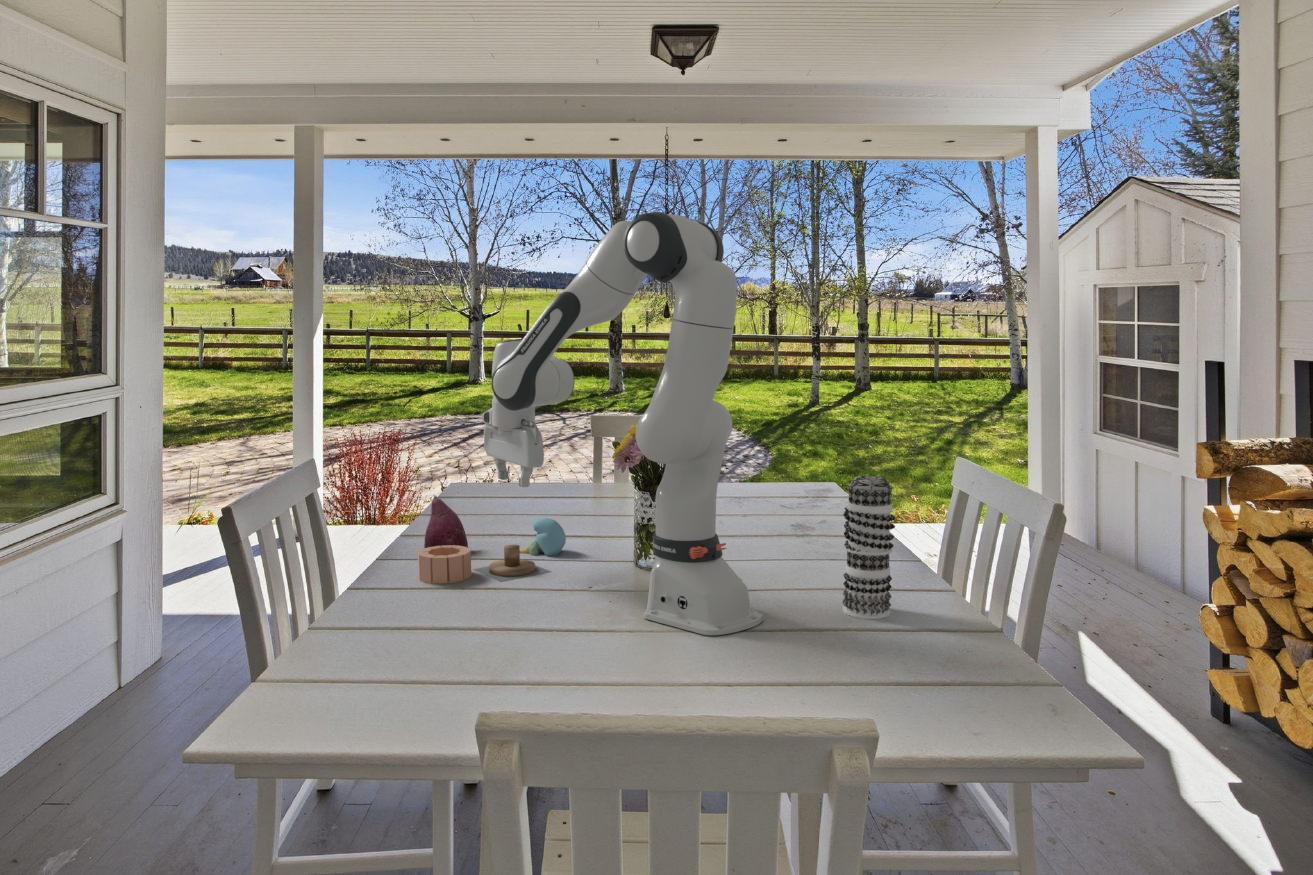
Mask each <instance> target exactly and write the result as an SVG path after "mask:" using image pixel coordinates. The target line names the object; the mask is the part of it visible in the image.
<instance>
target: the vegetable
mask: <svg viewBox="0 0 1313 875" xmlns="http://www.w3.org/2000/svg"><path fill="white" fill-rule="evenodd" d="M430 509H431V513H430V517H429V521H428V523H427V526H426V529H425V535H424V546H423V547H424V548H428V547H434V546H442V545H456V546H457V545H458V546H464V547H467V548H469V542H468V538H467V533H466V531H465V528H464V525H463V523H462V521H461V519H460V517H459V516H458V514H457V513H456V512H455V511H454V510H453V509H452V508H451V507H449V505H447V504H446V503H445V502H444V501H443V500H442V499H441V498H440V497H438V496H437V495H434V496H433V498H432V501H431V508H430ZM424 548H423V549H424Z"/></svg>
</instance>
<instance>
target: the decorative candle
mask: <svg viewBox="0 0 1313 875" xmlns="http://www.w3.org/2000/svg"><path fill="white" fill-rule="evenodd" d="M847 487H848V501H847V506H846V507H844V510H845V511H844V513H843V517H844V519H845V520H846V521H845V522H844V524H843V527H844V528H845V530H844V532H843V536H844V538H845V539H846V540H845V542H844V544H843V545H844V550H845V551H847V552H846V563H845V573H844V574H843V578H844V580H845V581H844V582H843V586H844V588H845V589H844V590H843V591H842V595H843V597H844V598H843V599H842V604H843V605H844V606H843V607H842V611H843V613H844V614H845V615H848V616H849V615H850V617H853V618H856V619H862V620H863V619H864V620H879V619H881V618H882V619H885V618H887V617H889V616H890V614H891V611H890V607H892V603H891V602H890V600H891V599H892V595H891V593H890V592H889V591H890V590H891V589H892V585H891V581H892V580H893V577H892V576H891V566H890V554H892V552H893V548H894V544H893V543H892V542H891V541H892V540H893V539H894V537H895V536H894V535H893V534H891V531H892V530H893V529H895V528H896V525H895V524H893V523H892V522H893V521H894V520H896V516H894V515H893V513H892V512H893V502H892V490H893V489H894V486H893V485H891V484H890V482H889V480H887V478H886V477H882V476H877V475H860V476H856V477H854V479H853V480H852V481H851V483H849V484H847ZM884 617H885V618H884Z"/></svg>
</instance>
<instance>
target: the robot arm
mask: <svg viewBox="0 0 1313 875" xmlns="http://www.w3.org/2000/svg"><path fill="white" fill-rule="evenodd" d="M724 250H725V249H724V244H723V241H722V239H721V236H720V235H719V234H718V232H716V230H715V229H714V228H712V227H711V226H709V225H707V224H705V223H703V222H699V221H695V220H693V219H691V218H688V217H685V216H683V215H679V214H670V213H665V212H660V211H651V212H646V213H642V214H640V215H638V216H637V217H635V218H633V219H632V220H631V221H630V220H621V221H618V222H617V223H615V224H614V225H613V226H611V227H610V229H609V230H608V231H607V232H606V233H605V234H604V236H603V237H602V238H601V239H600V240H599V242H598V243H597V244H596V246H595V247H594V249H593V250H592V251H591V253H590V254H589V256H588V257H587V259H586V261H585V263H584V264H583V266H582V267H581V268H580V270H579V271H578V273H577V274H576V275H575V277H574V278H573V279H572V281H571V282H570V283H569V284H568V285H567V286H566V287H565V288H564V289H563V291H562V292H561V293H559V294H558V295H557V296H556V297H555V298H554V299H553V300H552V301H551V302H550V303H549V304H548V305H547V307H546V308H545V309H544V310H543V312H542V313H541V314H540V316H538V318H537V319H536V321H535V323H534V324H533V325H532V327H531V328H530V329H529V330H528V332H527V333H526V334H525V336H524V337H523V338H515V339H508V340H507V339H506V340H503V341H500V342H499V343H497V344H496V346H495V348H494V352H493V356H492V365H491V390H492V394H493V397H492V400H491V408H489V409H487V410H486V411H484V412H483V413H482V418H481V419H482V422H483V423H484V426H483V444H484V450H485V453H486V456H489V457H492V458H494V465H495V466H496V467H495V468H496V469H497V479H499V480H501V481H505V480H508V479H509V470H507V464H506V463H507V462H508V463H511V464H513V465H518V466H520V471H521V474H520V477H518V486H519V487H521V488H528V487H530V484H531V482H530V481H531V476H532V474H533V472H534V469H535V468H541V467H543V465H544V462H545V454H544V453H545V452H544V441H543V435H542V432H541V431H540V430H539V428H538V425H537V423H536V407H543V406H548V405H556V404H560V403H563V402H565V401H567V400H568V399H569V398H570V397H571V395H572V393H573V391H574V388H575V374H574V371H573V369H572V367H571V365H570V364H569V362H568V361H566V360H565V359H563V358H558V357H556V356H554V354H555V352H556V351H557V350H558V349H559V347H560V346H561V345H562V344H563V343H564V341H566V339H568V338H569V337H570V336H572V335H573V334H575V333H577V332H579V331H581V330H584V329H586V328H589V327H592V326H597V325H599V324H602V323H606V322H609V321H612V320H613V319H615V318H617V317H618V316H619V315H621V313H622V312H623V311H624V310H625V309H626V308H627V306H629V304H630V303H631V301H632V300H633V299H634V297H635V295H636V294H637V292H638V290H639V288H641V286H642V284H643V282H644V281H645V279H646V278H647V277H648V276H650V277H651V278H653V279H655V280H656V281H658V282H660V283H662V284H663V283H664V284H665V283H668V282H670V284H671V285H672V286H673V289H674V294H675V299H674V307H673V312H672V313H673V314H672V319H671V325H670V332H669V338H668V344H667V350H666V356H665V359H664V365H663V368H662V371H661V373H660V376H659V379H658V382H657V383H656V387H655V390H654V391H653V395H652V398H651V401H650V403H649V405H648V407H647V408H646V410H645V411H644V413H643V414H642V415H641V416H640V418H639V420H638V422H637V424H636V427H635V441H636V445H637V447H638V449H639V451H640V452H641V454H643V456H644V457H645V458H646V459H648V460H650V461H652V462H655V463H658V464H662V465H663V464H664V465H665V467H664V472H663V474H662V477H661V480H660V483H659V485H658V486H657V489H656V493H655V533H653V535H652V536H653V537H652V539H653V540H652V553H653V555H654V561H653V564H652V565H653V566H652V569H651V571H650V576H649V578H650V579H649V587H648V588H649V589H648V597H647V604H646V609H644V611H643V619H645V620H649V621H653V622H656V623H659V624H664V625H667V626H671V627H674V628H677V629H682V630H686V631H689V632H692V633H697V634H700V635H704V636H722V635H727V634H734V633H737V632H741V631H744V630H745V631H746V630H747V629H750V628H755V627H756V626H758V625H759V624H761V623H762V622H763V621H764V616H763V614H762V613H760V612H759V611H756V610H754V609H753V608H751V606H750V595H749V589H748V587H747V585H746V583H745V582H743V578H742V579H741V577H739V576H738V574H736V572H735V570H733V569H732V567H731V566H730V565H729V564H728V563H727V561H726V560H725V558H724V557H723V556H724V555H723V550H727V547H724V546H726V545H727V543H726V542H724V543H720V538H719V536H718V534H717V533H716V531H717V529H716V526H717V522H716V520H717V519H716V518H717V514H716V513H717V493H718V486H719V485H718V484H719V479H720V474H721V471H722V470H721V469H722V465H723V459H724V455H725V451H726V450H725V449H726V446H727V443H728V440H729V439H730V437H731V435H732V431H733V419H732V416H731V413H730V411H729V410H728V408H727V407H726V406H725V405H724V404H722V403H720V402H719V401H716V400H714V398H715V395H716V392H717V389H718V387H719V385H720V383H721V382H722V380H723V378H724V377H725V375H726V373H727V371H728V366H729V365H728V364H729V360H730V352H731V348H732V341H733V337H734V336H733V335H734V328H735V321H736V313H737V300H738V299H737V298H738V297H737V296H738V295H737V294H738V293H737V292H738V289H737V287H738V286H737V283H738V282H737V276H736V274H735V272H734V271H733V269H732V268H731V267H730V266H728V265H727V264H725V263H724V262H723V260H724V254H725V252H724Z"/></svg>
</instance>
